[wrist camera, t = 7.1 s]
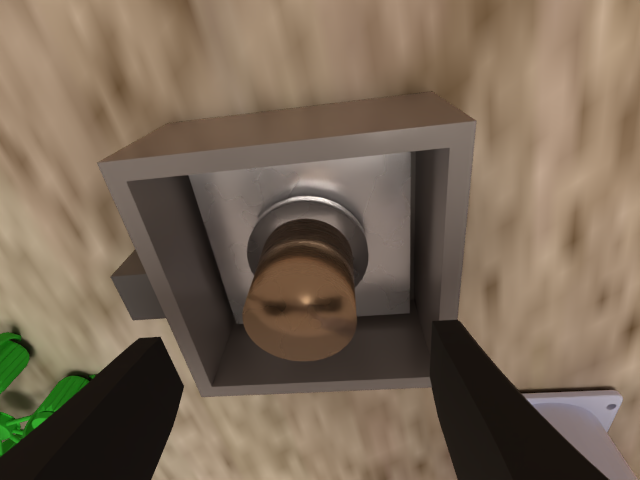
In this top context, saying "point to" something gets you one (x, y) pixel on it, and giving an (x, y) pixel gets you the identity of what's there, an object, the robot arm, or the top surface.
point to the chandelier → (3, 367)
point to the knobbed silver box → (282, 149)
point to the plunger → (310, 248)
